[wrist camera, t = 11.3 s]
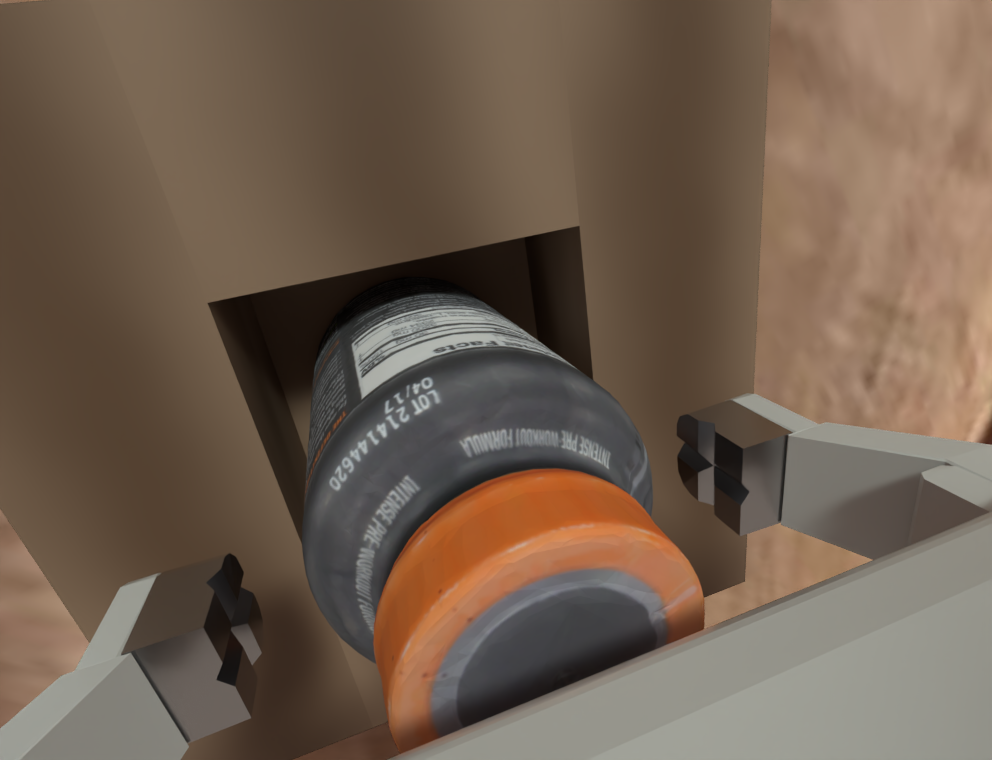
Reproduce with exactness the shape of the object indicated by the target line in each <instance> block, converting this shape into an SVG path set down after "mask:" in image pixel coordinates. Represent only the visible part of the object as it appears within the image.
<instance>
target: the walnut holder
mask: <svg viewBox="0 0 992 760" xmlns="http://www.w3.org/2000/svg"><path fill="white" fill-rule="evenodd" d="M771 1H772V0H42V1H30V2H19V3H7V4H0V509H1V510H2V512H3V513H4V515H5V516H6V518H7V519H8V521H9V522H10V524H11V525H12V527H13V528H14V530H15V531H16V533H17V534H18V536H19V537H20V539H21V540H22V542H23V544H24V545H25V547H26V548H27V550H28V551H29V553H30V554H31V556H32V557H33V559H34V560H35V562H36V563H37V565H38V566H39V568H40V569H41V571H42V572H43V574H44V575H45V577H46V578H47V580H48V581H49V583H50V584H51V586H52V587H53V589H54V590H55V592H56V593H57V595H58V596H59V598H60V599H61V601H62V602H63V604H64V605H65V607H66V608H67V610H68V611H69V613H70V614H71V616H72V617H73V619H74V620H75V622H76V623H77V625H78V626H79V628H80V629H81V631H82V632H83V634H84V635H85V637H86V638H87V640H88V641H89V643H90V642H91V640H92V638H93V636H94V634H95V632H96V631H97V629H98V627H99V625H100V623H101V621H102V620H103V618H104V616H105V614H106V612H107V610H108V609H109V607H110V605H111V603H112V601H113V599H114V598H115V596H116V594H117V592H118V590H119V589H120V587H122V586H123V585H125V584H127V583H128V582H131V581H135V580H138V579H141V578H144V577H147V576H150V575H154V574H157V573H163V572H164V571H168V570H171V569H175V568H178V567H182V566H185V565H189V564H192V563H196V562H199V561H203V560H206V559H210V558H213V557H217V556H220V555H224V554H227V553H231V554H232V555H234V556H236V558H237V560H238V562H239V564H240V565H241V567H242V569H243V571H244V575H243V579H242V583H241V587H242V588H244V589H246V590H248V591H250V592H252V593H254V595H255V597H256V600H257V602H258V604H259V608H260V611H261V615H262V619H263V632H264V640H263V648H262V653H261V655H260V656H259V657H258V659H257V660H256V661H255V662H254V664H253V665H252V666H253V668H254V671H255V673H256V675H257V677H258V681H257V687H256V693H255V699H254V705H253V712H252V718H250V719H248V720H245V721H243V722H240V723H238V724H235V725H233V726H230V727H228V728H225V729H223V730H220V731H218V732H215V733H213V734H210V735H208V736H205V737H203V738H200V739H198V740H196V741H193V742H191V743H188V745H189V748H188V749H187V751H186V752H185V754H184V755H183V757H182V758H181V760H292V759H295V758H298V757H300V756H303V755H305V754H308V753H310V752H313V751H315V750H318V749H320V748H323V747H325V746H328V745H331V744H333V743H336V742H338V741H341V740H343V739H346V738H348V737H351V736H353V735H356V734H358V733H361V732H364V731H366V730H369V729H371V728H374V727H376V726H379V725H381V724H384V723H386V722H388V718H387V713H386V708H385V703H384V696H383V688H382V681H381V676H380V673H379V671H378V667H377V664H375V663H373V662H372V661H370V660H368V659H367V658H365V657H364V656H362V655H361V654H359V653H358V652H357V651H355V650H354V649H353V648H352V647H351V646H349V645H348V644H347V643H346V642H345V641H344V640H342V639H341V638H340V637H339V635H338V634H337V633H336V632H335V631H334V629H333V628H332V627H331V626H330V625H329V623H328V621H327V620H326V618H325V617H324V615H323V614H322V612H321V611H320V609H319V607H318V605H317V603H316V601H315V599H314V596H313V594H312V592H311V590H310V587H309V583H308V579H307V576H306V572H305V566H304V559H303V551H302V524H303V514H304V500H305V486H306V471H307V458H308V442H309V427H310V410H311V399H312V387H313V377H314V366H315V361H316V357H317V352H318V347H319V344H320V342H321V340H322V338H323V336H324V334H325V332H326V330H327V328H328V326H329V325H330V323H331V322H332V320H333V319H334V317H335V316H336V314H337V313H338V312H339V311H340V310H341V309H342V308H343V307H344V306H345V305H346V304H347V303H348V302H350V301H351V300H352V299H353V298H355V297H356V296H357V295H359V294H361V293H362V292H364V291H366V290H367V289H369V288H371V287H373V286H375V285H378V284H380V283H383V282H386V281H390V280H394V279H398V278H405V277H426V278H434V279H439V280H444V281H448V282H450V283H453V284H455V285H458V286H460V287H462V288H464V289H466V290H467V291H470V292H471V293H472V294H474V295H475V296H477V297H478V298H479V299H480V300H482V301H483V302H484V303H486V304H488V305H489V306H491V307H492V308H493V309H494V310H496V311H497V312H498V313H500V314H501V315H503V316H504V317H506V318H507V319H508V320H510V321H511V322H512V323H514V324H516V325H517V326H518V327H520V328H521V329H522V330H524V331H525V332H527V333H528V334H529V335H531V336H532V337H534V338H535V339H536V340H538V341H539V342H541V343H542V344H543V345H545V346H546V347H547V348H549V349H550V350H551V351H553V352H554V353H556V354H557V355H559V356H560V357H561V358H563V359H564V360H566V361H567V362H568V363H570V364H571V365H572V366H574V367H575V368H577V369H578V370H579V371H581V372H582V373H584V374H585V375H586V376H588V377H589V378H591V379H592V380H594V381H595V382H596V383H598V384H599V385H600V386H601V387H603V388H604V389H605V390H607V391H608V392H609V393H610V394H611V395H612V396H613V397H614V398H615V399H616V400H617V401H618V402H619V403H620V405H621V406H622V408H623V409H624V410H625V412H626V413H627V414H628V416H629V417H630V419H631V420H632V422H633V424H634V425H635V427H636V429H637V430H638V432H639V434H640V436H641V439H642V441H643V444H644V446H645V449H646V451H647V455H648V458H649V462H650V467H651V473H652V484H653V507H652V514H651V519H652V520H653V522H654V523H655V524H656V525H657V526H658V527H659V528H660V529H661V531H662V532H663V533H664V534H665V535H666V536H667V537H668V538H669V539H670V540H671V541H672V542H673V543H674V544H675V545H676V546H677V547H678V548H679V549H680V550H681V552H682V553H683V554H684V555H685V557H686V558H687V559H688V560H689V562H690V564H691V566H692V567H693V569H694V571H695V573H696V575H697V576H698V579H699V582H700V585H701V588H702V592H703V596H704V597H707V596H709V595H712V594H714V593H717V592H719V591H722V590H724V589H727V588H729V587H732V586H734V585H737V584H740V583H742V582H745V569H746V547H747V534H745V535H742V536H739V535H738V534H737V533H735V532H734V531H733V530H732V529H731V528H729V527H728V526H727V525H726V524H725V523H724V522H722V521H721V520H720V519H719V518H718V517H716V516H715V515H714V506H713V505H711V504H707V503H704V502H700V501H698V500H697V499H696V498H694V497H693V496H692V495H691V494H690V493H689V492H688V490H687V489H686V487H685V486H684V485H683V482H682V480H681V477H680V475H679V472H678V462H677V455H678V454H679V452H680V450H681V448H682V446H683V444H684V443H683V442H682V441H681V440H680V439H679V438H678V437H677V422H678V419H679V416H682V415H685V414H688V413H691V412H694V411H697V410H700V409H703V408H706V407H709V406H712V405H715V404H718V403H721V402H724V401H726V400H729V399H732V398H735V397H738V396H741V395H743V394H746V393H749V394H754V372H755V350H756V329H757V307H758V285H759V263H760V241H761V219H762V198H763V176H764V154H765V132H766V110H767V88H768V67H769V45H770V23H771Z"/></svg>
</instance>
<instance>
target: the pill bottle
mask: <svg viewBox="0 0 992 760" xmlns="http://www.w3.org/2000/svg"><path fill="white" fill-rule="evenodd" d="M652 507H653V484H652V473H651V467H650V462H649V458H648V455H647V451H646V449H645V446H644V444H643V441H642V439H641V436H640V434H639V432H638V430H637V429H636V427H635V425H634V424H633V422H632V420H631V419H630V417H629V416H628V414H627V413H626V412H625V410H624V409H623V408H622V406H621V405H620V403H619V402H618V401H617V400H616V399H615V398H614V397H613V396H612V395H611V394H610V393H609V392H608V391H607V390H605V389H604V388H603V387H601V386H600V385H599V384H598V383H596V382H595V381H594V380H592V379H591V378H589V377H588V376H586V375H585V374H584V373H582V372H581V371H579V370H578V369H577V368H575V367H574V366H572V365H571V364H570V363H568V362H567V361H566V360H564V359H563V358H561V357H560V356H559V355H557V354H556V353H554V352H553V351H551V350H550V349H549V348H547V347H546V346H545V345H543V344H542V343H541V342H539V341H538V340H536V339H535V338H534V337H532V336H531V335H529V334H528V333H527V332H525V331H524V330H522V329H521V328H520V327H518V326H517V325H516V324H514V323H512V322H511V321H510V320H508V319H507V318H506V317H504V316H503V315H501V314H500V313H498V312H497V311H496V310H494V309H493V308H492V307H491V306H489V305H488V304H486V303H484V302H483V301H482V300H480V299H479V298H478V297H477V296H475V295H474V294H472V293H471V292H470V291H467V290H466V289H464V288H462V287H460V286H458V285H455V284H453V283H450V282H448V281H444V280H439V279H434V278H426V277H405V278H398V279H394V280H390V281H386V282H383V283H380V284H378V285H375V286H373V287H371V288H369V289H367V290H366V291H364V292H362V293H361V294H359V295H357V296H356V297H355V298H353V299H352V300H351V301H350V302H348V303H347V304H346V305H345V306H344V307H343V308H342V309H341V310H340V311H339V312H338V313H337V314H336V316H335V317H334V319H333V320H332V322H331V323H330V325H329V326H328V328H327V330H326V332H325V334H324V336H323V338H322V340H321V342H320V344H319V347H318V352H317V357H316V361H315V366H314V377H313V387H312V399H311V410H310V427H309V442H308V458H307V471H306V486H305V500H304V514H303V524H302V551H303V559H304V566H305V572H306V576H307V579H308V583H309V587H310V590H311V592H312V594H313V596H314V599H315V601H316V603H317V605H318V607H319V609H320V611H321V612H322V614H323V615H324V617H325V618H326V620H327V621H328V623H329V625H330V626H331V627H332V628H333V629H334V631H335V632H336V633H337V634H338V635H339V637H340V638H341V639H342V640H344V641H345V642H346V643H347V644H348V645H349V646H351V647H352V648H353V649H354V650H355V651H357V652H358V653H359V654H361V655H362V656H364V657H365V658H367V659H368V660H370V661H372V662H373V663H375V664H377V667H378V671H379V673H380V676H381V681H382V688H383V696H384V703H385V708H386V713H387V718H388V723H389V728H390V731H391V734H392V737H393V739H394V742H395V744H396V746H397V748H398V750H399V752H400V754H401V753H404V752H406V751H409V750H411V749H414V748H416V747H419V746H421V745H423V744H426V743H428V742H431V741H433V740H436V739H438V738H440V737H443V736H445V735H448V734H450V733H453V732H455V731H458V730H460V729H462V728H465V727H467V726H470V725H472V724H475V723H477V722H479V721H482V720H484V719H487V718H489V717H492V716H494V715H497V714H499V713H501V712H504V711H506V710H509V709H511V708H514V707H516V706H518V705H521V704H523V703H526V702H528V701H531V700H533V699H535V698H538V697H540V696H543V695H545V694H548V693H550V692H553V691H555V690H557V689H560V688H562V687H565V686H567V685H570V684H572V683H574V682H577V681H579V680H582V679H584V678H587V677H589V676H592V675H594V674H596V673H599V672H601V671H604V670H606V669H609V668H611V667H613V666H616V665H618V664H621V663H623V662H626V661H628V660H630V659H633V658H635V657H638V656H640V655H643V654H645V653H648V652H650V651H652V650H655V649H657V648H660V647H662V646H665V645H667V644H669V643H672V642H674V641H677V640H679V639H682V638H684V637H687V636H689V635H691V634H694V633H696V632H699V631H701V630H703V629H704V615H705V613H704V596H703V592H702V588H701V585H700V582H699V579H698V576H697V575H696V573H695V571H694V569H693V567H692V566H691V564H690V562H689V560H688V559H687V558H686V557H685V555H684V554H683V553H682V552H681V550H680V549H679V548H678V547H677V546H676V545H675V544H674V543H673V542H672V541H671V540H670V539H669V538H668V537H667V536H666V535H665V534H664V533H663V532H662V531H661V529H660V528H659V527H658V526H657V525H656V524H655V523H654V522H653V520H652V519H651V514H652Z"/></svg>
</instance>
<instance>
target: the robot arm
mask: <svg viewBox="0 0 992 760" xmlns="http://www.w3.org/2000/svg"><path fill="white" fill-rule="evenodd" d="M677 437H678V438H679V439H680V440H681V441H682V442H683V443H684V444H683V446H682V448H681V450H680V452H679V454H678V455H677V462H678V472H679V475H680V477H681V480H682V482H683V485H684V486H685V487H686V489H687V490H688V492H689V493H690V494H691V495H692V496H693V497H694V498H696V499H697V500H698V501H700V502H704V503H707V504H711V505H713V506H714V515H715V516H716V517H718V518H719V519H720V520H721V521H722V522H724V523H725V524H726V525H727V526H728V527H729V528H731V529H732V530H733V531H734V532H735V533H737V534H738V535H739V536H742V535H745V534H748V533H751V532H754V531H757V530H760V529H763V528H766V527H769V526H772V525H775V524H778V523H781V525H783V526H786V527H788V528H791V529H794V530H796V531H799V532H802V533H804V534H807V535H809V536H812V537H815V538H817V539H820V540H823V541H825V542H828V543H831V544H833V545H836V546H838V547H841V548H844V549H846V550H849V551H852V552H854V553H857V554H860V555H862V556H865V557H867V558H870V559H873V561H870V562H868V563H865V564H863V565H860V566H858V567H856V568H853V569H851V570H848V571H846V572H843V573H841V574H839V575H836V576H834V577H831V578H829V579H826V580H824V581H821V582H819V583H817V584H814V585H812V586H809V587H807V588H804V589H802V590H799V591H797V592H794V593H792V594H790V595H787V596H785V597H782V598H780V599H777V600H775V601H772V602H770V603H768V604H765V605H763V606H760V607H758V608H755V609H753V610H750V611H748V612H745V613H743V614H741V615H738V616H736V617H733V618H731V619H728V620H726V621H723V622H721V623H718V624H716V625H714V626H711V627H709V628H706V629H704V630H701V631H699V632H696V633H694V634H691V635H689V636H687V637H684V638H682V639H679V640H677V641H674V642H672V643H669V644H667V645H665V646H662V647H660V648H657V649H655V650H652V651H650V652H648V653H645V654H643V655H640V656H638V657H635V658H633V659H630V660H628V661H626V662H623V663H621V664H618V665H616V666H613V667H611V668H609V669H606V670H604V671H601V672H599V673H596V674H594V675H592V676H589V677H587V678H584V679H582V680H579V681H577V682H574V683H572V684H570V685H567V686H565V687H562V688H560V689H557V690H555V691H553V692H550V693H548V694H545V695H543V696H540V697H538V698H535V699H533V700H531V701H528V702H526V703H523V704H521V705H518V706H516V707H514V708H511V709H509V710H506V711H504V712H501V713H499V714H497V715H494V716H492V717H489V718H487V719H484V720H482V721H479V722H477V723H475V724H472V725H470V726H467V727H465V728H462V729H460V730H458V731H455V732H453V733H450V734H448V735H445V736H443V737H440V738H438V739H436V740H433V741H431V742H428V743H426V744H423V745H421V746H419V747H416V748H414V749H411V750H409V751H406V752H404V753H401V754H399V755H397V756H394V757H392V758H389V759H387V760H992V445H989V444H981V443H974V442H967V441H959V440H952V439H945V438H937V437H930V436H923V435H915V434H908V433H901V432H893V431H886V430H878V429H871V428H864V427H856V426H849V425H842V424H834V423H827V422H826V423H822V424H817V423H815V422H813V421H811V420H809V419H807V418H804V417H802V416H800V415H798V414H796V413H794V412H792V411H790V410H788V409H786V408H784V407H782V406H779V405H777V404H775V403H773V402H771V401H769V400H767V399H765V398H763V397H761V396H759V395H757V394H749V393H746V394H743V395H741V396H738V397H735V398H732V399H729V400H726V401H724V402H721V403H718V404H715V405H712V406H709V407H706V408H703V409H700V410H697V411H694V412H691V413H688V414H685V415H682V416H679V419H678V422H677ZM243 575H244V571H243V569H242V567H241V565H240V564H239V562H238V560H237V558H236V556H234V555H232V554H231V553H227V554H224V555H220V556H217V557H213V558H210V559H206V560H203V561H199V562H196V563H192V564H189V565H185V566H182V567H178V568H175V569H171V570H168V571H164V572H163V573H157V574H154V575H150V576H147V577H144V578H141V579H138V580H135V581H131V582H128V583H127V584H125V585H123V586H122V587H120V589H119V590H118V592H117V594H116V596H115V598H114V599H113V601H112V603H111V605H110V607H109V609H108V610H107V612H106V614H105V616H104V618H103V620H102V621H101V623H100V625H99V627H98V629H97V631H96V632H95V634H94V636H93V638H92V640H91V642H90V644H89V645H88V647H87V649H86V651H85V653H84V655H83V656H82V658H81V660H80V662H79V664H78V666H77V667H76V669H75V671H74V672H71V673H68V674H65V675H62V676H61V677H59V678H58V679H57V680H56V681H55V682H54V683H53V684H51V685H50V686H49V687H48V688H47V689H46V690H44V691H43V692H42V693H41V694H40V695H39V696H38V697H36V698H35V699H34V700H33V701H32V702H31V703H29V704H28V705H27V706H26V707H25V708H24V709H22V710H21V711H20V712H19V713H18V714H17V715H16V716H14V717H13V718H12V719H11V720H10V721H9V722H7V723H6V724H5V725H4V726H3V727H2V728H1V729H0V760H181V758H182V757H183V755H184V754H185V752H186V751H187V749H188V748H189V745H188V743H191V742H193V741H196V740H198V739H200V738H203V737H205V736H208V735H210V734H213V733H215V732H218V731H220V730H223V729H225V728H228V727H230V726H233V725H235V724H238V723H240V722H243V721H245V720H248V719H250V718H252V712H253V705H254V699H255V693H256V687H257V681H258V677H257V675H256V673H255V671H254V668H253V666H252V665H253V664H254V662H255V661H256V660H257V659H258V657H259V656H260V655H261V653H262V648H263V640H264V632H263V619H262V615H261V611H260V608H259V604H258V602H257V600H256V597H255V595H254V593H252V592H250V591H248V590H246V589H244V588H242V587H241V583H242V579H243Z"/></svg>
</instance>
